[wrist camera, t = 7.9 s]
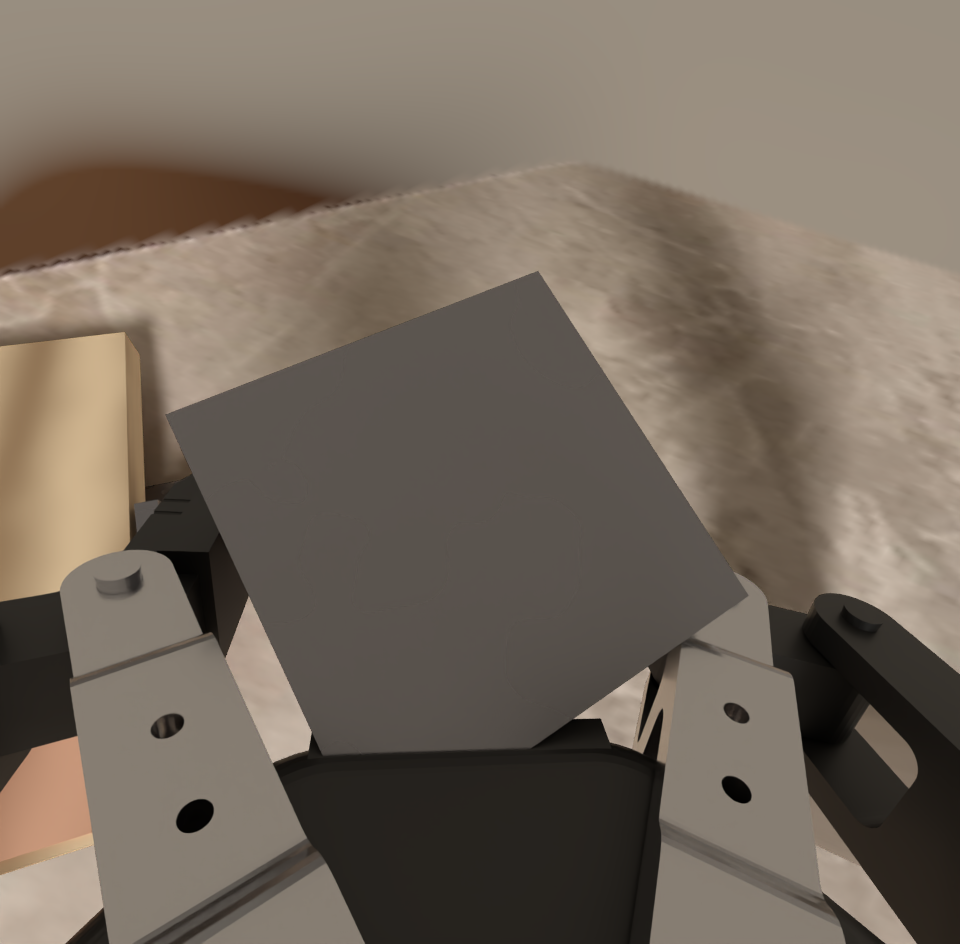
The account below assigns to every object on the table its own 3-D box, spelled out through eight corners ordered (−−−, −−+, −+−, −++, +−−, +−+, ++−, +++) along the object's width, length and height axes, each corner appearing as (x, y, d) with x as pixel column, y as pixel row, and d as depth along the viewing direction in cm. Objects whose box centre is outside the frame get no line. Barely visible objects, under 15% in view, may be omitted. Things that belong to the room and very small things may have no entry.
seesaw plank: (139, 355, 32) (123, 329, 30) (157, 824, 22) (134, 831, 20) (-67, 381, 29) (-100, 355, 27) (-151, 923, 19) (-212, 942, 17)
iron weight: (448, 480, 17) (538, 270, 8) (530, 626, 16) (748, 595, 7) (294, 556, 15) (166, 414, 6) (375, 722, 14) (370, 860, 5)
